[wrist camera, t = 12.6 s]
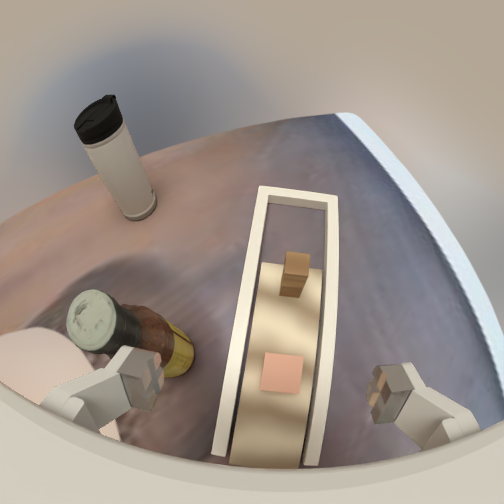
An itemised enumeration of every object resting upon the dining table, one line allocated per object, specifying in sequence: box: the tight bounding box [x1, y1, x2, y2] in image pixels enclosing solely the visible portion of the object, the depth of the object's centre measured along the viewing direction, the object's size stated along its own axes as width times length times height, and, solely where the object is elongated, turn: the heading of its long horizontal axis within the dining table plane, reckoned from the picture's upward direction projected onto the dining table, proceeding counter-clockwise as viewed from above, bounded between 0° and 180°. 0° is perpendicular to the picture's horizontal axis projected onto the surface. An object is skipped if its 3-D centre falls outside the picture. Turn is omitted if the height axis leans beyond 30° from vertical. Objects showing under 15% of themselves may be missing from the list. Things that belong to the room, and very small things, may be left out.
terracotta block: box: [259, 352, 304, 394], centre depth 28 cm, size 4×4×4 cm
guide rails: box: [211, 186, 339, 466], centre depth 33 cm, size 38×12×2 cm, turn 171°
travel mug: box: [74, 95, 157, 221], centre depth 34 cm, size 6×7×20 cm
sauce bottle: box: [67, 289, 194, 377], centre depth 23 cm, size 6×6×20 cm
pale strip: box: [229, 252, 322, 469], centre depth 27 cm, size 26×8×8 cm, turn 171°
